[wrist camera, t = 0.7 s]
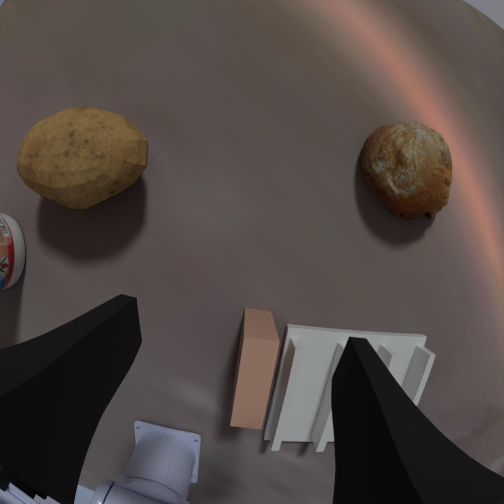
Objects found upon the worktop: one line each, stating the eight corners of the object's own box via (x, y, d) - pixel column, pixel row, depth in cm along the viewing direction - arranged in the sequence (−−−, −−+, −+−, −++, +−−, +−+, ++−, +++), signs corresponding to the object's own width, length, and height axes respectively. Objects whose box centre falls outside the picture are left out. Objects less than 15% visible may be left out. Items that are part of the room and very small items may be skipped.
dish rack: (386, 433, 29) (398, 451, 26) (263, 434, 29) (265, 456, 25) (422, 334, 29) (441, 345, 25) (287, 323, 28) (293, 338, 24)
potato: (154, 219, 27) (120, 216, 19) (45, 205, 27) (-2, 200, 19) (173, 123, 27) (149, 88, 19) (62, 122, 26) (22, 99, 18)
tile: (258, 383, 29) (261, 429, 21) (233, 380, 29) (230, 425, 21) (270, 311, 28) (279, 341, 20) (245, 308, 28) (244, 337, 20)
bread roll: (406, 139, 31) (422, 92, 23) (457, 206, 27) (489, 167, 19) (341, 167, 31) (348, 117, 23) (393, 244, 27) (419, 208, 20)
